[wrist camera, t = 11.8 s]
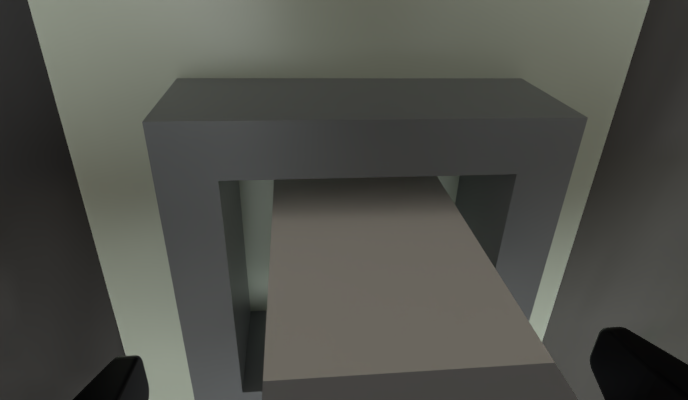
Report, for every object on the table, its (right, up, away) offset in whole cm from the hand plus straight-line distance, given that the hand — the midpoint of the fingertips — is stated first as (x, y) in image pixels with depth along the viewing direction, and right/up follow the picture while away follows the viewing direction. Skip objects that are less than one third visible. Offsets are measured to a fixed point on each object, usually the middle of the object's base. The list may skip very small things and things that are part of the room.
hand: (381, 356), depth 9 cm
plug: (-1, +2, +4) cm, 5 cm away
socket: (-1, +3, +5) cm, 6 cm away
